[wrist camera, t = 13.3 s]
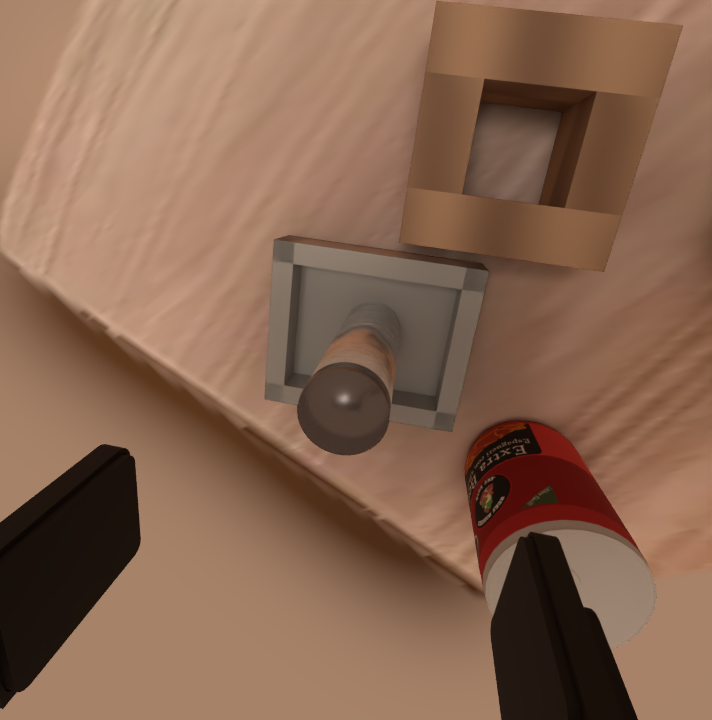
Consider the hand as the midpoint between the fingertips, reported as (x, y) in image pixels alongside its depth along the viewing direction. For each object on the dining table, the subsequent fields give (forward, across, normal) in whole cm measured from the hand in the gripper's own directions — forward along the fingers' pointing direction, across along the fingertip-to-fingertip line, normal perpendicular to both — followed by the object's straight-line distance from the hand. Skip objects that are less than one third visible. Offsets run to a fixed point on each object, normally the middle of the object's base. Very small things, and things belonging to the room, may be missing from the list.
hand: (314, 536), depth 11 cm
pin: (+19, +1, +1) cm, 19 cm away
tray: (+20, +1, +1) cm, 20 cm away
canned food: (+20, -11, +9) cm, 25 cm away
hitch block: (+20, -5, -10) cm, 23 cm away
